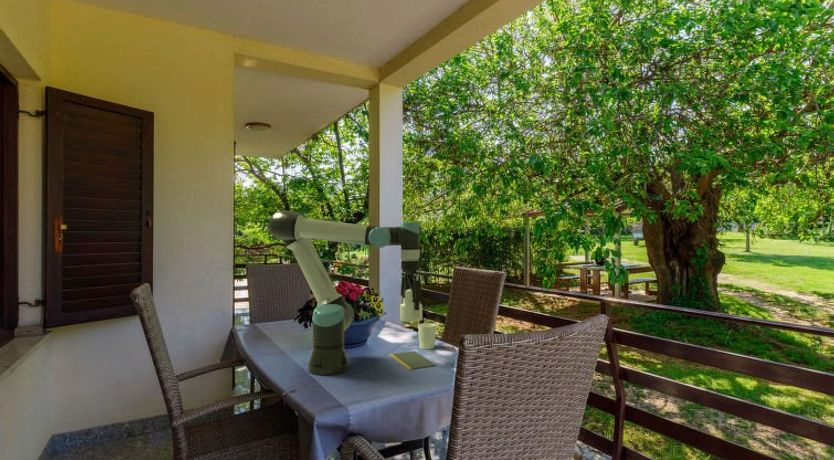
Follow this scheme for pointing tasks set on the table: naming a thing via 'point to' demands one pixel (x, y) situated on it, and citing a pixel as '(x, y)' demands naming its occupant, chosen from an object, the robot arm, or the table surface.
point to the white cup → (426, 335)
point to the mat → (412, 360)
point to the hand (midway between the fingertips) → (411, 315)
